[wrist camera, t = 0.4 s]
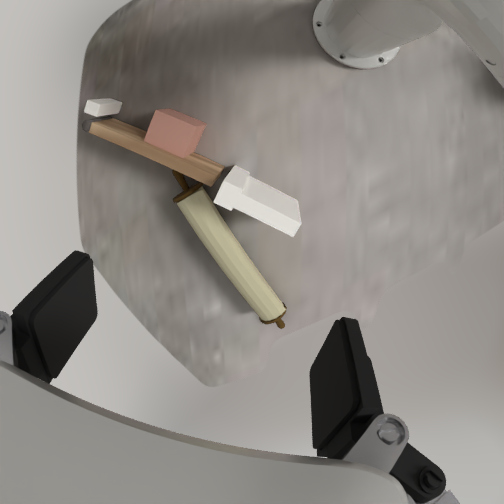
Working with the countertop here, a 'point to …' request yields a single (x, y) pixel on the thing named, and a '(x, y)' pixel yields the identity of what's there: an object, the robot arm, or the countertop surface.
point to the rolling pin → (228, 251)
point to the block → (174, 132)
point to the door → (153, 149)
